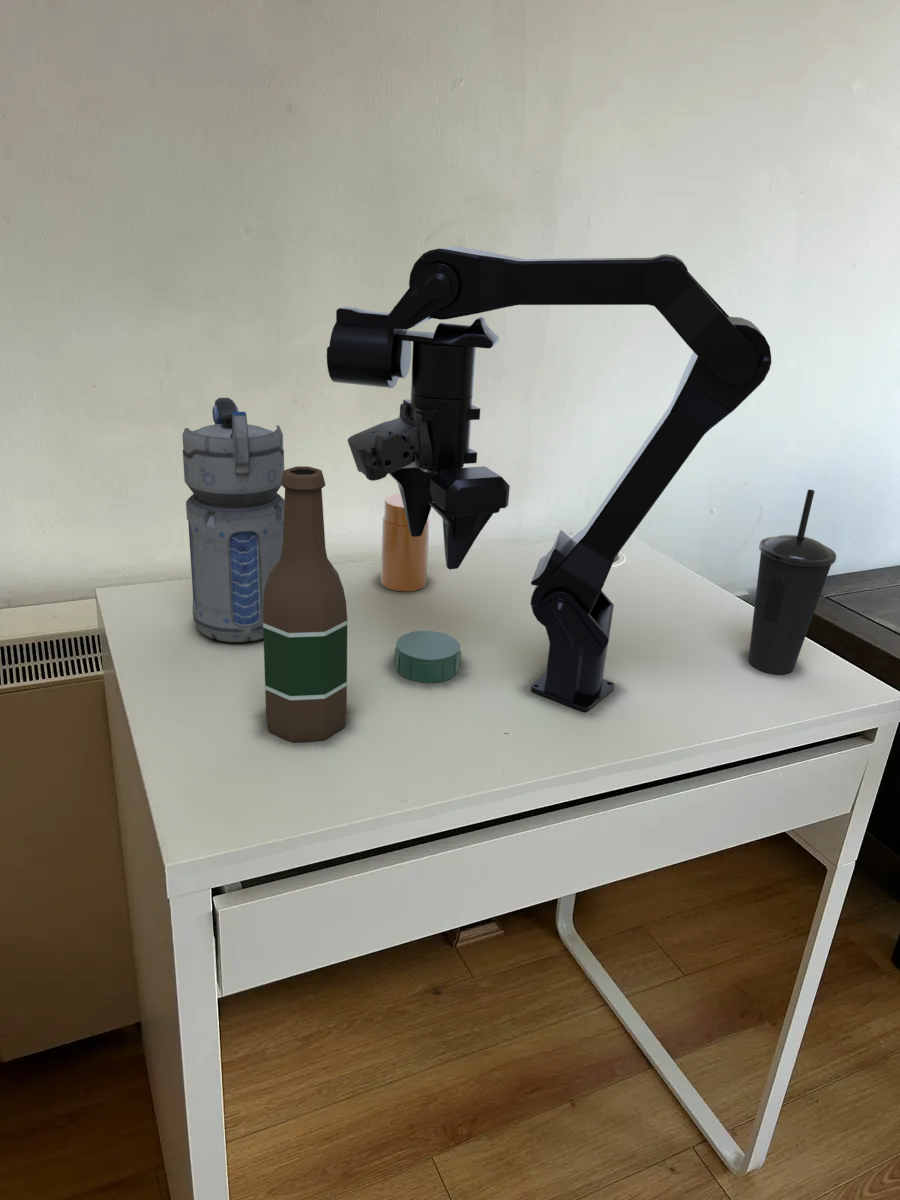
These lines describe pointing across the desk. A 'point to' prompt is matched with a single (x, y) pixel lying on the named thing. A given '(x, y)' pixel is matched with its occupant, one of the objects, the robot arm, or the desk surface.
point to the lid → (427, 656)
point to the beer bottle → (304, 622)
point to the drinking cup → (787, 596)
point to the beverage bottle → (233, 520)
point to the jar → (402, 550)
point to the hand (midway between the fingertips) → (433, 551)
